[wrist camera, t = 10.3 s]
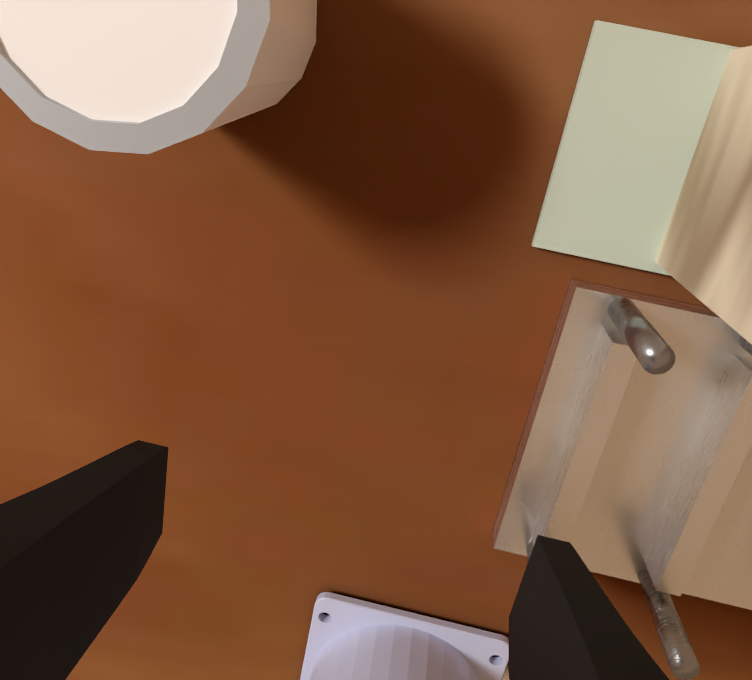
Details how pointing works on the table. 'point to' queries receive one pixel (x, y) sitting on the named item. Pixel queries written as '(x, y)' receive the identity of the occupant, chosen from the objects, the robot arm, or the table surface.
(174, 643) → the table surface
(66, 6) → the white cylinder
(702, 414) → the rack
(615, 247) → the mat
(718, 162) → the birch block
